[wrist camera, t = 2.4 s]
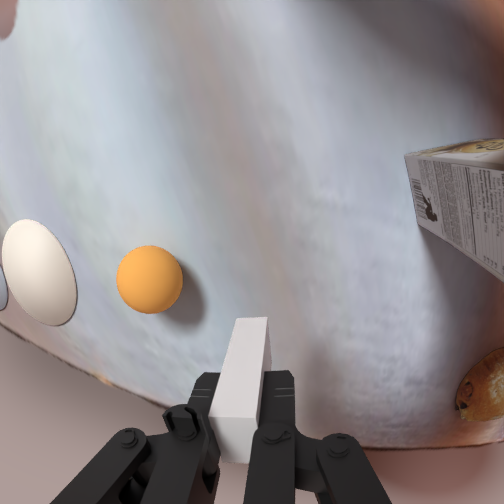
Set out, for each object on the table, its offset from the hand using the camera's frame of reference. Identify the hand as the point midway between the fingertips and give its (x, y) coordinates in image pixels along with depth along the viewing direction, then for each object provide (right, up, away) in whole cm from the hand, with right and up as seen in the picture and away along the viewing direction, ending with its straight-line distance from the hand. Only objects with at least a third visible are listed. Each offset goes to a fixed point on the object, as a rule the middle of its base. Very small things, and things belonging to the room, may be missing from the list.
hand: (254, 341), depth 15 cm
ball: (-8, +2, +9) cm, 12 cm away
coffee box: (+17, +11, +7) cm, 21 cm away
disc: (-25, +2, +14) cm, 29 cm away
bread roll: (+29, -12, +13) cm, 34 cm away
